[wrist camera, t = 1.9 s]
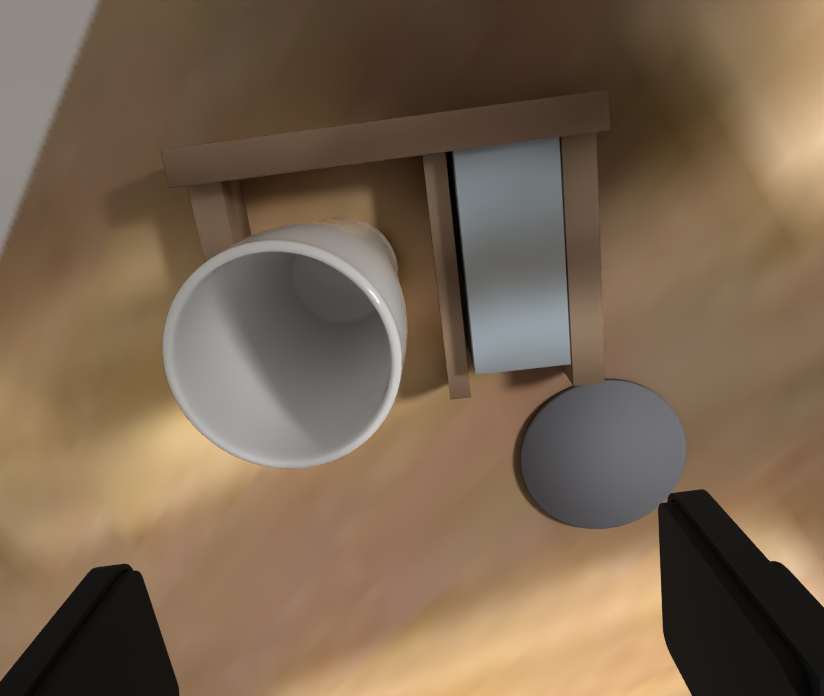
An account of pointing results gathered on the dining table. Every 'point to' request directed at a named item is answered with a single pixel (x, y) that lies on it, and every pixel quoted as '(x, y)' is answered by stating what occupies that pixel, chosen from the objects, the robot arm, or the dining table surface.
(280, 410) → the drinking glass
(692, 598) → the robot arm
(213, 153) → the walnut cubby
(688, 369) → the dining table surface
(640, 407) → the felt coaster
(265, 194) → the dining table surface
